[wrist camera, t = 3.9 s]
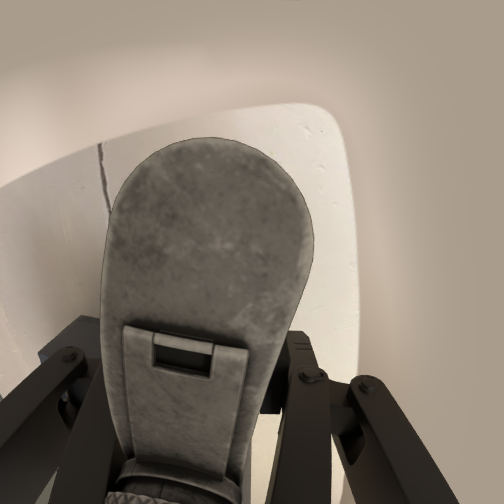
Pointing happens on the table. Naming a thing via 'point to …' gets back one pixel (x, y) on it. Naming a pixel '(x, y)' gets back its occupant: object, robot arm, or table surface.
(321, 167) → the table surface
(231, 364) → the flask
